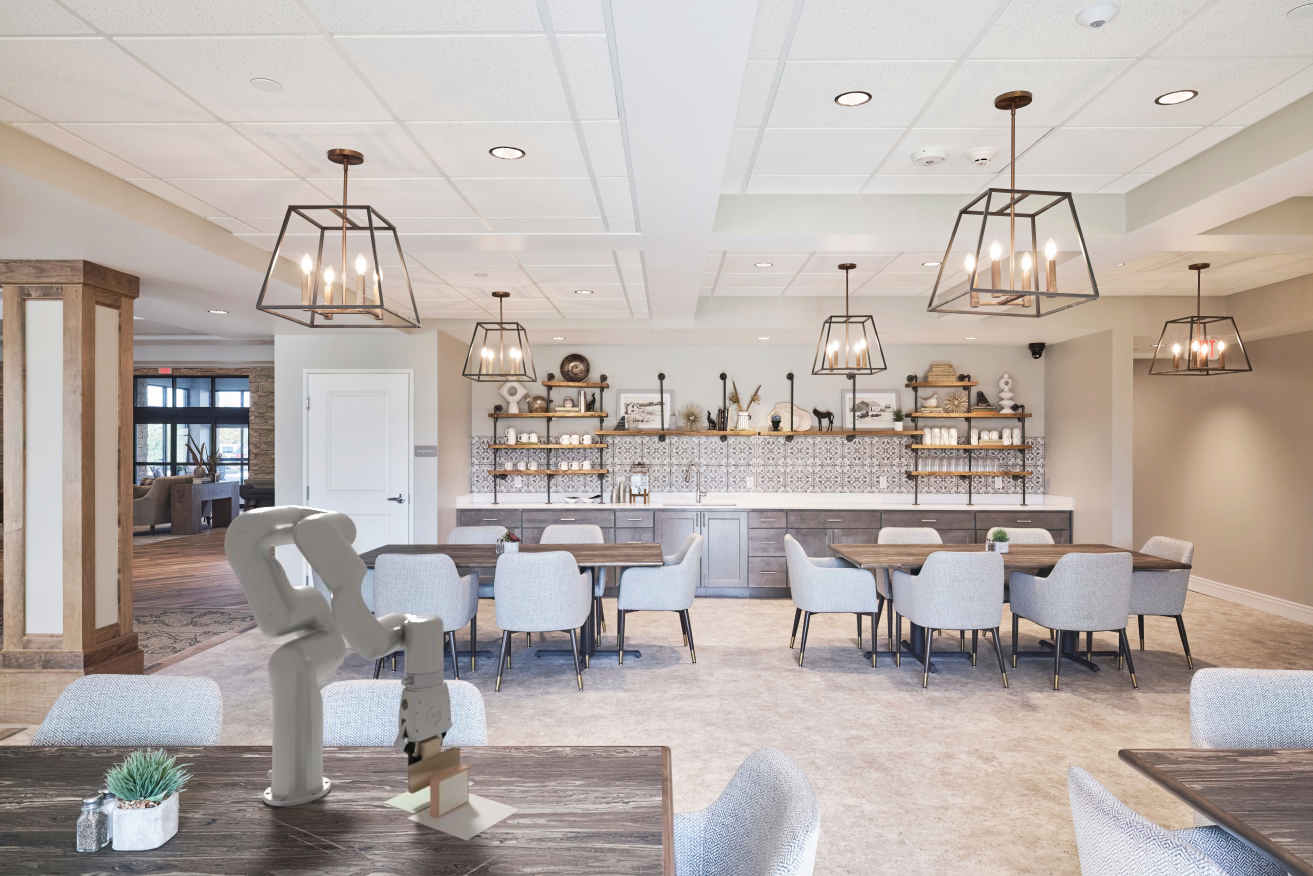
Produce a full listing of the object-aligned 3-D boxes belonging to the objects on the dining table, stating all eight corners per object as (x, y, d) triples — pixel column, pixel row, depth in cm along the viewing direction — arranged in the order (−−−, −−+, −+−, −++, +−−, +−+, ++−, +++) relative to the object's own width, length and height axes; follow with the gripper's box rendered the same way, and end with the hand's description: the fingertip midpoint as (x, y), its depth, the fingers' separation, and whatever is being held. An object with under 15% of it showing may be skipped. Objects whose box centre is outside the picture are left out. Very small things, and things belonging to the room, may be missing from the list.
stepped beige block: (391, 786, 147) (391, 745, 148) (438, 765, 158) (438, 726, 158) (412, 793, 144) (412, 751, 144) (459, 771, 154) (459, 732, 154)
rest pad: (383, 803, 150) (383, 802, 150) (445, 775, 163) (445, 773, 163) (413, 814, 145) (413, 813, 145) (474, 784, 159) (474, 783, 159)
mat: (406, 819, 143) (406, 818, 143) (462, 792, 155) (462, 790, 155) (466, 841, 135) (466, 840, 135) (520, 811, 146) (520, 809, 146)
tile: (430, 815, 144) (430, 778, 144) (461, 799, 151) (461, 764, 151) (437, 818, 143) (437, 781, 143) (469, 802, 150) (469, 766, 150)
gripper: (402, 692, 143) (402, 790, 142) (468, 671, 157) (468, 760, 156) (377, 686, 147) (376, 781, 146) (443, 666, 161) (443, 752, 160)
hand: (424, 769), depth 151 cm, fingers closed on stepped beige block, 4 cm apart
